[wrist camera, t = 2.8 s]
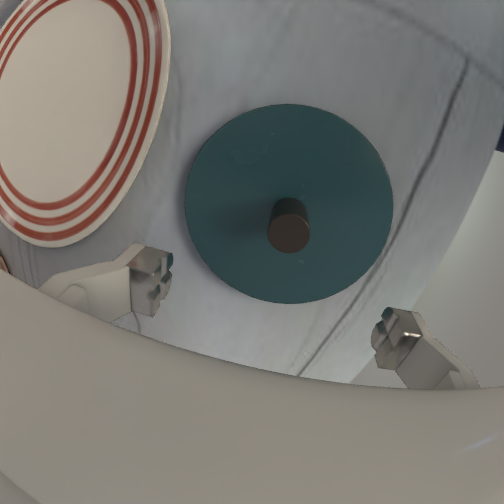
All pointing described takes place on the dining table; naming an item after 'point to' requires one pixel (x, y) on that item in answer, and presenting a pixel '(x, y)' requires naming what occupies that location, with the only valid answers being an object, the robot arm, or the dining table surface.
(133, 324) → the dining table surface
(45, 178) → the dinner plate
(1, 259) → the cake
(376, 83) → the dining table surface
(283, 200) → the tin lid
